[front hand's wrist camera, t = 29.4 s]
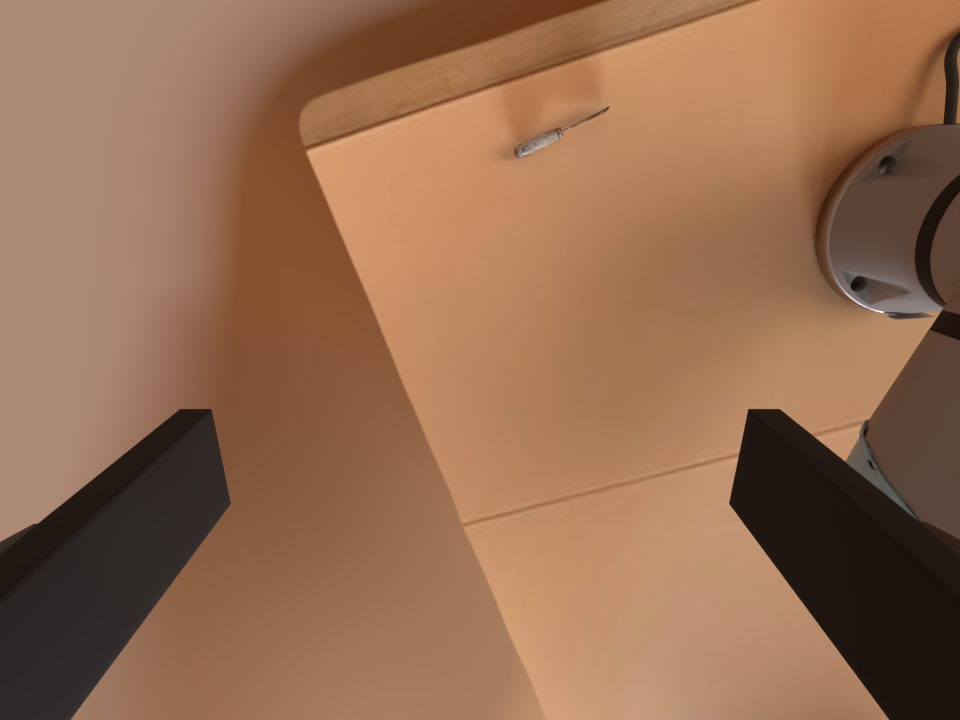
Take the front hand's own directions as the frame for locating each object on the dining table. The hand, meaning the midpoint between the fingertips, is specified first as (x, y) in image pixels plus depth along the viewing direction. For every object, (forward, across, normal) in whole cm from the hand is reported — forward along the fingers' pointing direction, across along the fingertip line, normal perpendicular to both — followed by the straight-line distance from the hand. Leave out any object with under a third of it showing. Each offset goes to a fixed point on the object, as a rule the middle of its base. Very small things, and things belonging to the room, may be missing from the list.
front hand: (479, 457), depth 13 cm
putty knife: (+34, +6, +10) cm, 36 cm away
